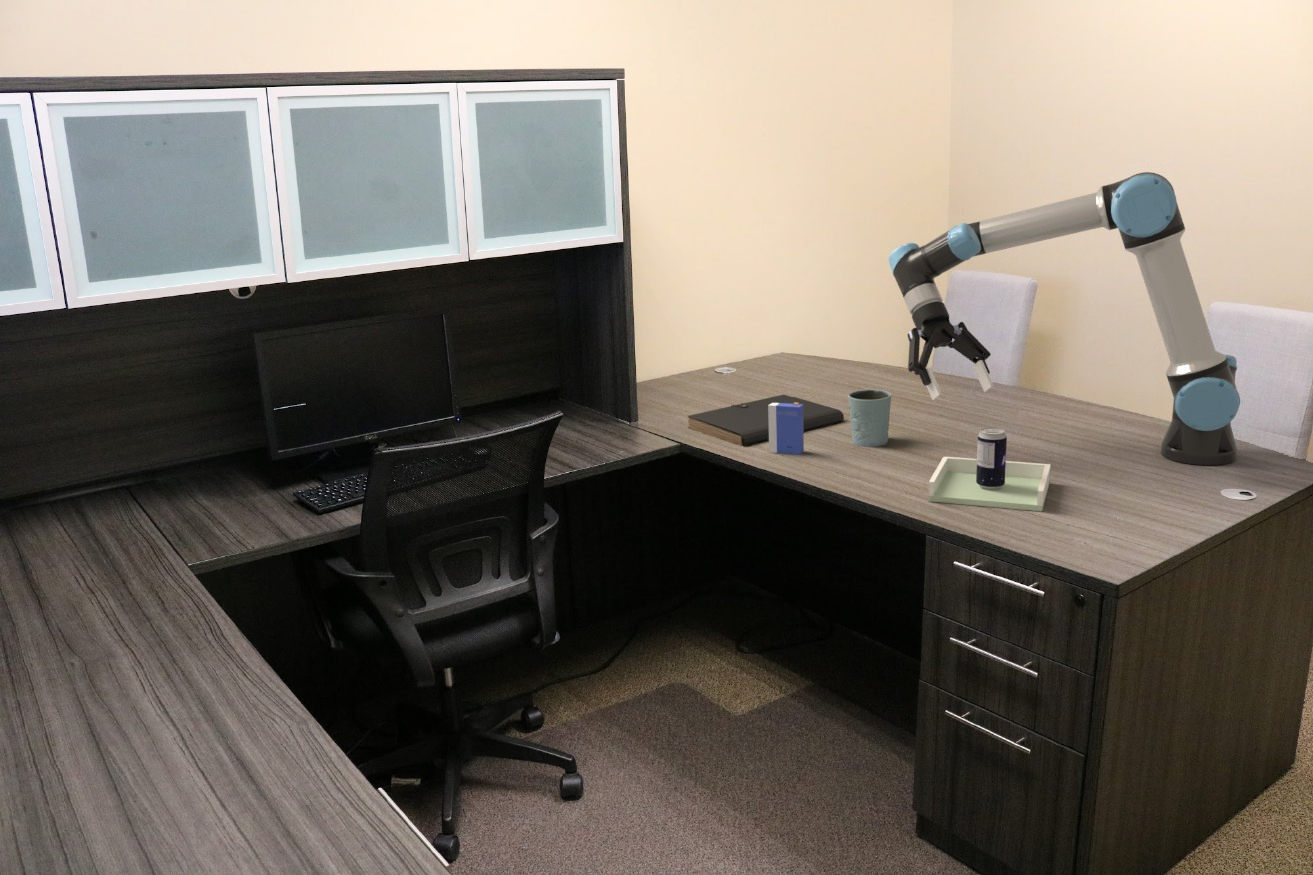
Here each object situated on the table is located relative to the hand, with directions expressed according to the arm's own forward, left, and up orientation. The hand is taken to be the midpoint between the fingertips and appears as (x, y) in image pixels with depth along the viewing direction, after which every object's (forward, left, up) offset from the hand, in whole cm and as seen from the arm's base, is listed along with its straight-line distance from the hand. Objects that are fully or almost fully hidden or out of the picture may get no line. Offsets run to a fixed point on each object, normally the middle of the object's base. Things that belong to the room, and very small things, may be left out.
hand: (963, 393), depth 233 cm
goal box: (-7, +11, -18) cm, 22 cm away
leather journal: (+54, -28, -19) cm, 64 cm away
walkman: (+42, -6, -18) cm, 46 cm away
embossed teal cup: (+25, -19, -18) cm, 36 cm away
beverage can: (-7, +11, -17) cm, 21 cm away
